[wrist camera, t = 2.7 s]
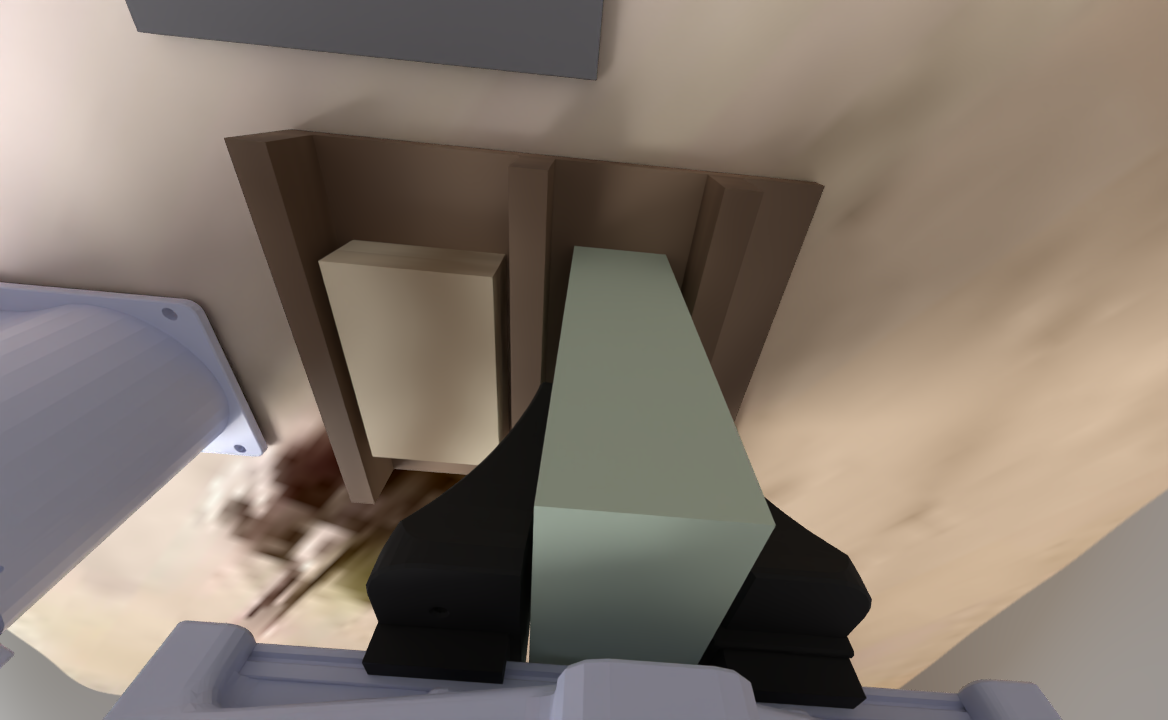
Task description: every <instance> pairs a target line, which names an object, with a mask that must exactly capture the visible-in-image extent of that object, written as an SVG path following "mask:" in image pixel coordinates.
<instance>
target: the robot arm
mask: <svg viewBox="0 0 1168 720" xmlns="http://www.w3.org/2000/svg"><path fill="white" fill-rule="evenodd" d="M552 387H553V383H549V382H543V383H542V384H540V386H539V388H538V390H537V392H536V394H535V396H534V398H533V399H532V401H531V403H530V404H529V406H528V407H527V409H526V410H525V412H524V413H523V415H522V416H521V417H520V419H519V420H518V422H517V423H516V424H515V426H514V427H513V428H512V429H511V430H510V432H509V433H508V434H507V435H506V437H505V438H504V439H503V440H502V441H501V442H500V443H499V445H498V446H497V447H496V448H495V449H494V450H493V451H492V452H491V453H490V454H489V455H488V456H487V457H486V458H485V459H484V460H483V461H482V462H481V463H480V464H479V465H478V466H476V467H475V468H474V469H473V470H472V471H471V472H470V473H469V474H467V475H466V476H465V477H464V478H463V479H461V480H460V481H459V482H458V483H456V484H455V485H454V486H452V487H451V488H450V489H448V490H447V491H446V492H444V493H443V494H442V495H440V496H439V497H438V498H436V499H435V500H433V501H432V502H431V503H429V504H427V505H426V506H424V507H423V508H421V509H419V510H418V511H416V512H415V513H413V514H412V515H410V516H408V517H407V518H405V519H403V520H402V521H400V523H399V524H398V525H397V527H396V528H395V530H394V531H393V533H392V534H391V536H390V538H389V539H388V541H387V542H386V544H385V545H384V547H383V549H382V551H381V553H380V555H379V557H378V559H377V561H376V563H375V566H374V568H373V570H372V572H371V575H370V577H369V579H368V581H367V584H366V588H367V594H368V597H369V599H370V602H371V604H372V607H373V609H374V612H375V614H376V617H377V620H378V624H377V626H376V629H375V631H374V634H373V636H372V639H371V641H370V643H369V646H368V648H367V651H360V650H346V649H332V648H318V647H304V646H290V645H277V644H263V643H256V641H255V639H254V637H253V635H252V633H251V632H250V631H249V630H247V629H246V628H244V627H241V626H239V625H234V624H228V623H214V622H200V621H182V622H180V623H178V624H177V626H176V627H175V628H174V629H173V631H172V632H171V633H170V635H169V636H168V637H167V638H166V640H165V641H164V642H163V643H162V645H161V646H160V647H159V649H158V650H157V651H156V652H155V654H154V655H153V656H152V657H151V659H150V660H149V661H148V662H147V664H146V665H145V666H144V668H143V669H142V670H141V671H140V673H139V674H138V675H137V676H136V678H135V679H134V680H133V682H132V683H131V684H130V685H129V687H128V688H127V689H126V690H125V692H124V693H123V694H122V696H121V697H120V698H119V699H118V701H117V702H116V703H115V705H114V706H113V707H112V708H111V710H110V711H109V712H108V713H107V715H106V716H105V717H104V718H103V720H1062V718H1061V717H1060V716H1059V714H1058V713H1057V712H1056V710H1055V709H1054V708H1053V706H1052V705H1051V704H1050V702H1049V701H1048V699H1047V698H1046V697H1045V695H1044V694H1043V693H1042V691H1041V690H1040V689H1039V687H1038V686H1037V685H1036V684H1034V683H1032V682H1023V681H1010V680H996V679H981V680H977V681H973V682H971V683H968V684H967V685H965V686H964V687H962V688H961V689H960V690H959V692H958V693H944V692H930V691H916V690H902V689H889V688H875V687H862V686H861V684H860V682H859V680H858V677H857V675H856V673H855V670H854V668H853V666H852V664H851V661H850V659H849V658H852V657H853V656H854V651H853V648H852V646H851V644H850V642H849V639H848V637H847V636H848V635H849V634H850V632H851V631H852V630H853V629H854V628H855V627H856V626H857V625H858V624H859V623H860V622H861V621H862V620H863V619H864V618H865V616H866V615H867V613H868V612H869V610H870V608H871V601H872V599H871V597H870V595H869V593H868V591H867V589H866V587H865V585H864V583H863V581H862V579H861V577H860V575H859V573H858V572H857V570H856V568H855V566H854V565H853V563H852V561H851V560H850V558H849V557H848V555H846V554H845V553H843V552H841V551H840V550H838V549H837V548H835V547H834V546H832V545H830V544H829V543H827V542H826V541H824V540H822V539H821V538H819V537H818V536H816V535H815V534H813V533H812V532H810V531H809V530H807V529H806V528H804V527H803V526H802V525H800V524H799V523H797V522H796V521H795V520H793V519H792V518H790V517H789V516H788V515H786V514H785V513H784V512H782V511H781V510H780V509H779V508H777V507H776V506H775V505H774V504H772V503H771V502H770V501H769V500H768V499H766V498H765V497H764V498H765V500H766V503H767V505H768V508H769V510H770V512H771V515H772V517H773V520H774V522H775V525H776V526H775V528H774V529H773V531H772V533H771V535H770V536H769V538H768V540H767V542H766V544H765V545H764V547H763V549H762V551H761V552H760V554H759V556H758V558H757V560H756V561H755V563H754V565H753V567H752V568H751V570H750V572H749V574H748V576H747V577H746V579H745V581H744V583H743V584H742V586H741V588H740V590H739V592H738V593H737V595H736V597H735V599H734V600H733V602H732V604H731V606H730V608H729V609H728V611H727V613H726V615H725V616H724V618H723V620H722V622H721V623H720V625H719V627H718V629H717V631H716V632H715V634H714V636H713V638H712V639H711V641H710V643H709V645H708V647H707V648H706V650H705V652H704V654H703V655H702V657H701V659H700V661H699V663H698V664H697V665H691V664H678V663H664V662H650V661H636V660H622V659H586V660H583V661H580V662H577V663H574V664H571V665H555V664H541V663H527V662H526V655H527V646H528V637H529V628H530V619H531V587H532V556H533V524H534V503H535V497H536V490H537V484H538V477H539V471H540V464H541V458H542V451H543V445H544V439H545V432H546V426H547V419H548V413H549V406H550V400H551V393H552ZM267 448H268V447H267V444H266V442H265V440H264V437H263V435H262V433H261V431H260V429H259V427H258V425H257V423H256V420H255V418H254V416H253V414H252V412H251V410H250V408H249V405H248V403H247V401H246V399H245V397H244V395H243V393H242V391H241V388H240V386H239V384H238V382H237V380H236V378H235V376H234V374H233V371H232V369H231V367H230V365H229V363H228V361H227V359H226V357H225V354H224V352H223V350H222V348H221V346H220V344H219V342H218V340H217V337H216V335H215V333H214V331H213V329H212V327H211V325H210V322H209V320H208V318H207V316H206V314H205V312H204V310H203V309H202V307H200V306H199V305H198V304H197V303H195V302H193V301H191V300H187V299H179V298H168V297H157V296H146V295H135V294H124V293H113V292H102V291H91V290H80V289H69V288H58V287H47V286H36V285H25V284H14V283H3V282H0V634H2V633H3V632H4V631H5V630H6V629H7V628H8V627H10V626H11V625H12V624H13V623H14V622H15V621H16V620H17V619H18V618H19V617H21V616H22V615H23V614H24V613H25V612H26V611H27V610H28V609H29V608H30V607H31V606H33V605H34V604H35V603H36V602H37V601H38V600H39V599H40V598H41V597H42V596H44V595H45V594H46V593H47V592H48V591H49V590H50V589H51V588H52V587H53V586H54V585H56V584H57V583H58V582H59V581H60V580H61V579H62V578H63V577H64V576H65V575H67V574H68V573H69V572H70V571H71V570H72V569H73V568H74V567H75V566H76V565H78V564H79V563H80V562H81V561H82V560H83V559H84V558H85V557H86V556H87V555H88V554H90V553H91V552H92V551H93V550H94V549H95V548H96V547H97V546H98V545H99V544H101V543H102V542H103V541H104V540H105V539H106V538H107V537H108V536H109V535H110V534H112V533H113V532H114V531H115V530H116V529H117V528H118V527H119V526H120V525H121V524H122V523H124V522H125V521H126V520H127V519H128V518H129V517H130V516H131V515H132V514H133V513H135V512H136V511H137V510H138V509H139V508H140V507H141V506H142V505H143V504H144V503H145V502H147V501H148V500H149V499H150V498H151V497H152V496H153V495H154V494H155V493H156V492H158V491H159V490H160V489H161V488H162V487H163V486H164V485H165V484H166V483H167V482H169V481H170V480H171V479H172V478H173V477H174V476H175V475H176V474H177V473H178V472H179V471H181V470H182V469H183V468H184V467H185V466H186V465H187V464H188V463H189V462H190V461H192V460H193V459H194V458H195V457H196V456H197V455H198V454H199V453H200V452H207V453H219V454H231V455H244V456H261V455H262V454H263V453H264V452H265V451H266V450H267ZM13 656H14V652H13V651H11V650H10V649H8V648H6V647H4V646H3V645H2V644H1V643H0V668H1V667H2V666H3V665H5V663H7V662H8V661H9V660H10V659H11V658H12V657H13Z"/></svg>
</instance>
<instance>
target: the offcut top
mask: <svg viewBox="0 0 1168 720" xmlns="http://www.w3.org/2000/svg"><path fill="white" fill-rule="evenodd" d="M318 262H319V266H320V269H321V273H322V276H323V280H324V284H325V287H326V291H327V294H328V298H329V302H330V305H331V309H332V312H333V316H334V319H335V323H336V327H337V330H338V334H339V337H340V341H341V345H342V348H343V352H344V355H345V359H346V363H347V366H348V370H349V373H350V377H351V380H352V384H353V388H354V391H355V395H356V398H357V402H358V406H359V409H360V413H361V416H362V420H363V423H364V427H365V431H366V434H367V438H368V441H369V445H370V449H371V452H372V456H373V457H385V458H397V459H409V460H421V461H434V462H446V463H458V464H470V465H479V464H480V463H481V462H482V461H483V460H484V459H485V458H486V457H487V456H488V455H489V454H490V453H491V452H492V451H493V450H494V449H495V448H496V447H497V446H498V445H499V443H500V442H501V441H502V440H503V439H504V416H503V379H502V343H501V307H500V270H499V265H494V264H483V263H472V262H462V261H451V260H441V259H430V258H419V257H409V256H398V255H387V254H377V253H366V252H355V251H345V250H335V251H334V252H332V253H331V254H329V255H327V256H326V257H324V258H322V259H321V260H319V261H318Z"/></svg>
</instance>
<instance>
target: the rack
mask: <svg viewBox="0 0 1168 720" xmlns="http://www.w3.org/2000/svg"><path fill="white" fill-rule="evenodd" d="M224 140H225V143H226V145H227V148H228V151H229V154H230V157H231V160H232V163H233V165H234V168H235V171H236V174H237V177H238V180H239V183H240V185H241V188H242V191H243V194H244V197H245V200H246V203H247V205H248V208H249V211H250V214H251V217H252V220H253V223H254V225H255V228H256V231H257V234H258V237H259V240H260V243H261V245H262V248H263V251H264V254H265V257H266V260H267V263H268V265H269V268H270V271H271V274H272V277H273V280H274V283H275V285H276V288H277V291H278V294H279V297H280V300H281V303H282V305H283V308H284V311H285V314H286V317H287V320H288V323H289V325H290V328H291V331H292V334H293V337H294V340H295V343H296V345H297V348H298V351H299V354H300V357H301V360H302V363H303V365H304V368H305V371H306V374H307V377H308V380H309V383H310V385H311V388H312V391H313V394H314V397H315V400H316V403H317V405H318V408H319V411H320V414H321V417H322V420H323V423H324V425H325V428H326V431H327V434H328V437H329V440H330V443H331V445H332V448H333V451H334V454H335V457H336V460H337V463H338V465H339V468H340V471H341V474H342V477H343V480H344V483H345V485H346V488H347V491H348V494H349V497H350V500H351V502H356V503H368V504H375V502H376V501H377V499H378V497H379V495H380V493H381V491H382V489H383V488H384V486H385V484H386V482H387V480H388V478H389V476H390V475H391V473H392V471H393V469H405V470H418V471H430V472H442V473H454V474H466V475H467V474H469V473H470V472H471V471H472V470H473V469H474V468H475V467H476V466H478V465H470V464H458V463H446V462H434V461H421V460H409V459H397V458H385V457H373V456H372V452H371V449H370V445H369V441H368V438H367V434H366V431H365V427H364V423H363V420H362V416H361V413H360V409H359V406H358V402H357V398H356V395H355V391H354V388H353V384H352V380H351V377H350V373H349V370H348V366H347V363H346V359H345V355H344V352H343V348H342V345H341V341H340V337H339V334H338V330H337V327H336V323H335V319H334V316H333V312H332V309H331V305H330V302H329V298H328V294H327V291H326V287H325V284H324V280H323V276H322V273H321V269H320V266H319V262H318V261H319V260H321V259H322V258H324V257H326V256H327V255H329V254H331V253H332V252H334V251H335V250H337V249H339V248H340V247H342V246H344V245H345V244H347V243H349V242H350V241H352V240H360V241H371V242H381V243H392V244H402V245H413V246H424V247H434V248H445V249H455V250H466V251H476V252H487V253H498V254H505V257H506V311H507V364H508V418H509V432H510V430H511V429H512V428H513V427H514V426H515V424H516V423H517V422H518V420H519V419H520V417H521V416H522V415H523V413H524V412H525V410H526V409H527V407H528V406H529V404H530V403H531V401H532V399H533V398H534V396H535V394H536V392H537V390H538V388H539V386H540V384H542V383H543V382H549V383H553V380H554V374H555V368H556V361H557V355H558V348H559V342H560V335H561V329H562V322H563V316H564V309H565V303H566V297H567V290H568V284H569V277H570V271H571V264H572V258H573V251H574V246H581V247H591V248H602V249H612V250H623V251H633V252H644V253H654V254H665V255H666V256H667V259H668V261H669V264H670V266H671V269H672V271H673V274H674V276H675V279H676V281H677V283H678V286H679V288H680V291H681V293H682V296H683V298H684V301H685V303H686V306H687V308H688V311H689V313H690V315H691V318H692V320H693V323H694V325H695V328H696V330H697V333H698V335H699V338H700V340H701V343H702V345H703V347H704V350H705V352H706V355H707V357H708V360H709V362H710V365H711V367H712V370H713V372H714V375H715V377H716V379H717V382H718V384H719V387H720V389H721V392H722V394H723V397H724V399H725V402H726V404H727V407H728V409H729V412H730V414H731V416H732V419H733V421H735V418H736V416H737V413H738V410H739V408H740V405H741V403H742V400H743V397H744V395H745V392H746V390H747V387H748V384H749V382H750V379H751V377H752V374H753V371H754V369H755V366H756V364H757V361H758V358H759V356H760V353H761V351H762V348H763V345H764V343H765V340H766V338H767V335H768V332H769V330H770V327H771V324H772V322H773V319H774V317H775V314H776V311H777V309H778V306H779V304H780V301H781V298H782V296H783V293H784V291H785V288H786V285H787V283H788V280H789V278H790V275H791V272H792V270H793V267H794V265H795V262H796V259H797V257H798V254H799V252H800V249H801V246H802V244H803V241H804V239H805V236H806V233H807V231H808V228H809V226H810V223H811V220H812V218H813V215H814V213H815V210H816V207H817V205H818V202H819V200H820V197H821V194H822V192H823V189H824V187H825V186H823V185H821V184H819V183H816V182H808V181H798V180H788V179H778V178H768V177H758V176H748V175H738V174H728V173H718V172H708V171H698V170H689V169H679V168H669V167H659V166H649V165H639V164H629V163H619V162H609V161H599V160H589V159H579V158H569V157H559V156H549V155H539V154H529V153H519V152H509V151H500V150H490V149H480V148H470V147H460V146H450V145H440V144H430V143H420V142H410V141H400V140H390V139H380V138H370V137H360V136H350V135H340V134H330V133H320V132H311V131H301V130H291V129H290V130H282V131H274V132H267V133H259V134H251V135H244V136H236V137H228V138H224Z"/></svg>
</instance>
